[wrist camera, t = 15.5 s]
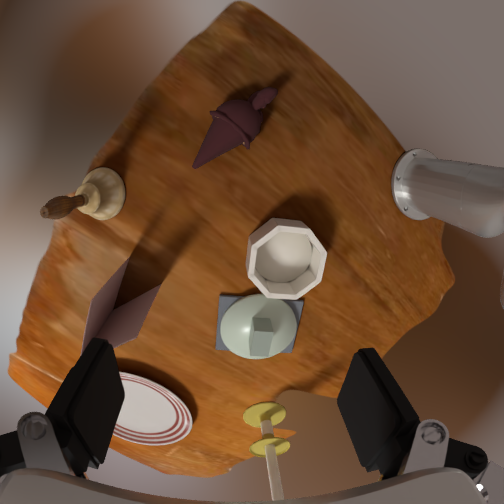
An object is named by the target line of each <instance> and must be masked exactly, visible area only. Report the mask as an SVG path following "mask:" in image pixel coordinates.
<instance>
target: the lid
mask: <svg viewBox="0 0 504 504" xmlns="http://www.w3.org/2000/svg"><path fill="white" fill-rule="evenodd" d="M296 329H297V322H296V318H295V315H294V313H293V311H292V309H291V307H290V306H289V305H288V304H287V303H286V302H285V301H283V300H282V299H275V298H267V297H266V296H265V295H264V294H252V295H248V296H245V297H242V298H240V299H238V300H237V301H235V302H234V303H233V304H231V305H230V306H229V307H228V308H227V310H226V311H225V313H224V315H223V317H222V320H221V326H220V332H221V337H222V340H223V342H224V344H225V345H226V347H227V348H228V349H229V350H231V351H232V352H233V353H235V354H236V355H239V356H241V357H244V358H249V359H263V358H268V357H271V356H274V355H276V354H278V353H280V352H281V351H283V350H284V349H285V348H286V347H287V346H288V345H289V344H290V343H291V341H292V340H293V338H294V336H295V333H296Z"/></svg>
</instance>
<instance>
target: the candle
mask: <svg viewBox="0 0 504 504" xmlns="http://www.w3.org/2000/svg"><path fill="white" fill-rule="evenodd" d="M285 416H286V410H285V408H284V406H282V405H280V404H279V403H274V402H261V403H257V404H254V405H252V406H250V407H249V408H247V409H246V410H245V412H244V413H243V419H244V421H245V422H246V423H247V424H249V425H251V426H254V427H261V432H262V439H260V440H258V441H256V442H254V443H253V444H252V445H251V446H250V452H251V453H252V454H253V455H255V456H258V457H266V460H267V467H268V474H269V480H270V487H271V494H272V500H273V501H275V500H284V495H283V490H282V485H281V479H280V473H279V467H278V462H277V455H280V454H282V453H284V452H286V451H287V450H288V449H289V448H290V443H289V441H288V440H286V439H284V438H279V437H274V433H273V428H272V426H273V425H276V424H278V423H279V422H281V421H282V420H283V419H284V418H285Z"/></svg>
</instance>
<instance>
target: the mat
mask: <svg viewBox="0 0 504 504" xmlns="http://www.w3.org/2000/svg"><path fill="white" fill-rule="evenodd" d="M242 297H244V296H230V295H220V298H219V310H218V323H217V337H216V350H229V349H228V348H227V347H226V345H225V344H224V342H223V340H222V337H221V332H220V326H221V320H222V317H223V315H224V313H225V311H226V310H227V308H228V307H229V306H230V305H231V304H233V303H234V302H235V301H237V300H238V299H240V298H242ZM282 300H283V301H285V302H286V303H287V304H288V305H289V306H290V307H291V309H292V311H293V313H294V315H295V318H296V322H297V328H298V324H299V320H300V316H301V311H302V307H303V303H304V301H303V300H291V299H282ZM296 333H297V329H296ZM296 333H295V336H294V338H293V340H292V341H291V343H290V344H289V345H288V346H287V347H286V348H285V349H284V350H283V351H281V352H280V353H292V349H293V345H294V341H295V337H296ZM230 351H231V350H230Z"/></svg>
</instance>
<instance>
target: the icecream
mask: <svg viewBox="0 0 504 504" xmlns="http://www.w3.org/2000/svg"><path fill="white" fill-rule="evenodd" d="M277 94H278V90H277V89H275V88H272V87H267V88H264V89H263V90H261V91H257V92H255V93H254V94H252V95H251V96H250V98H249V99H248V100H247V101H245V100H230V101H227V102H224V103H223V104H222V105H220V106H219V107H218V108H217V110H216V111H210V114H211V115H212V118H213V122H212V124H211V126H210V128H209V130H208V132H207V135H206V137H205V139H204V141H203V143H202V146H201V148H200V150H199V152H198V154H197V157H196V159H195V161H194V163H193V166H192V167H193V168H194V169H196V168H198V167H200V166H202V165H204V164H205V163H207V162H209V161H211V160H212V159H214V158H216V157H218V156H220V155H222V154H223V153H225V152H227V151H229V150H231V149H233V148H235V147H237V146H239V145H241V144H243V145H244V146H245V147H246V148H247V149H249V148H250V142H252V141H253V140H254V138H255V136H256V135H257V134H258V133H259V132H260V125H261V122H262V121H263V114H262V112H261V110H259V109H260V108H262V109H263V108H265V107H266V105H267V104H268V103H270V102H271V101H272V100H273V99H274V98H275V97H276V95H277Z"/></svg>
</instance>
